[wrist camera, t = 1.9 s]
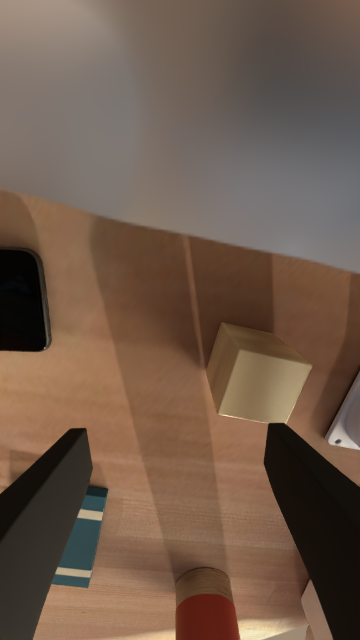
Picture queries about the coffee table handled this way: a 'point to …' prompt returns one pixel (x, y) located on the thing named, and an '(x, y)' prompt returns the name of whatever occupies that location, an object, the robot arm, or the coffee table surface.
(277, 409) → the block
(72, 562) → the towel
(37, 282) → the smartphone
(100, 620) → the coffee table surface
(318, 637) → the white bottle
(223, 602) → the can
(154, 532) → the coffee table surface
